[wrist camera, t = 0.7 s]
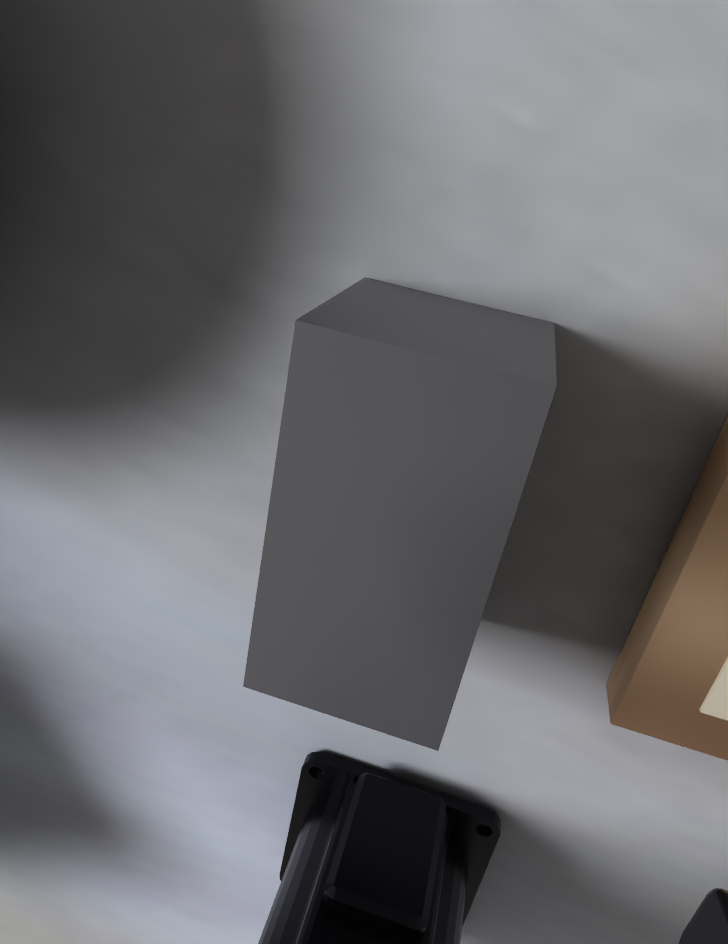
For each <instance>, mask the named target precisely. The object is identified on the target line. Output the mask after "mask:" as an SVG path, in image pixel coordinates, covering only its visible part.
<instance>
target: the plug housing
mask: <svg viewBox="0 0 728 944" xmlns="http://www.w3.org/2000/svg"><path fill="white" fill-rule="evenodd" d="M556 387H557V373H556V348H555V323H552V322H547V321H543V320H539V319H535V318H531V317H527V316H522V315H518V314H514V313H510V312H506V311H501V310H497V309H493V308H489V307H485V306H480V305H476V304H472V303H468V302H464V301H460V300H455V299H451V298H447V297H443V296H439V295H434V294H430V293H426V292H422V291H418V290H414V289H409V288H405V287H401V286H397V285H393V284H388V283H384V282H380V281H376V280H372V279H367V278H363V279H362V280H360V281H359V282H357V283H355V284H354V285H352V286H350V287H349V288H347V289H346V290H344V291H342V292H341V293H339V294H338V295H336V296H334V297H333V298H331V299H330V300H328V301H326V302H325V303H323V304H321V305H320V306H318V307H317V308H315V309H313V310H312V311H310V312H309V313H307V314H305V315H304V316H302V317H300V318H299V319H297V320H296V323H295V330H294V337H293V344H292V351H291V358H290V365H289V372H288V379H287V386H286V393H285V400H284V407H283V414H282V421H281V428H280V435H279V442H278V449H277V455H276V462H275V469H274V476H273V483H272V490H271V497H270V504H269V511H268V518H267V525H266V532H265V539H264V546H263V553H262V560H261V567H260V574H259V581H258V588H257V595H256V602H255V608H254V615H253V622H252V629H251V636H250V643H249V650H248V657H247V664H246V671H245V678H244V685H243V687H246V688H249V689H252V690H255V691H259V692H262V693H265V694H268V695H271V696H274V697H277V698H280V699H283V700H286V701H289V702H292V703H295V704H298V705H301V706H304V707H307V708H310V709H313V710H316V711H319V712H322V713H325V714H328V715H331V716H334V717H337V718H340V719H343V720H346V721H349V722H352V723H355V724H359V725H362V726H365V727H368V728H371V729H374V730H377V731H380V732H383V733H386V734H389V735H392V736H395V737H398V738H401V739H404V740H407V741H410V742H413V743H416V744H419V745H422V746H425V747H428V748H431V749H434V750H437V751H438V750H439V747H440V743H441V740H442V737H443V734H444V731H445V728H446V725H447V722H448V719H449V716H450V713H451V710H452V707H453V704H454V700H455V697H456V694H457V691H458V688H459V685H460V682H461V679H462V676H463V673H464V670H465V667H466V664H467V661H468V657H469V654H470V651H471V648H472V645H473V642H474V639H475V636H476V633H477V630H478V627H479V624H480V621H481V618H482V615H483V611H484V608H485V605H486V602H487V599H488V596H489V593H490V590H491V587H492V584H493V581H494V578H495V575H496V572H497V568H498V565H499V562H500V559H501V556H502V553H503V550H504V547H505V544H506V541H507V538H508V535H509V532H510V529H511V525H512V522H513V519H514V516H515V513H516V510H517V507H518V504H519V501H520V498H521V495H522V492H523V489H524V486H525V483H526V479H527V476H528V473H529V470H530V467H531V464H532V461H533V458H534V455H535V452H536V449H537V446H538V443H539V440H540V436H541V433H542V430H543V427H544V424H545V421H546V418H547V415H548V412H549V409H550V406H551V403H552V400H553V397H554V394H555V390H556Z"/></svg>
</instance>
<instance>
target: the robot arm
mask: <svg viewBox="0 0 728 944" xmlns="http://www.w3.org/2000/svg"><path fill="white" fill-rule="evenodd" d="M316 767H317V768H316ZM318 768H319V769H318ZM482 824H483V825H482ZM485 825H487V826H485ZM500 826H501V820H500V817H499V816H498V815H497V814H496V813H495V812H494V811H492V810H490V809H487V808H484V807H481V806H478V805H475V804H472V803H469V802H466V801H463V800H460V799H457V798H455V797H452V796H449V795H446V794H443V793H440V792H437V791H434V790H431V789H428V788H425V787H422V786H419V785H416V784H413V783H410V782H407V781H404V780H401V779H398V778H395V777H392V776H389V775H387V774H384V773H381V772H378V771H375V770H372V769H369V768H366V767H363V766H360V765H357V764H354V763H351V762H348V761H345V760H342V759H339V758H336V757H333V756H330V755H327V754H324V753H321V752H312V753H310V754H308V755H307V757H306V759H305V762H304V764H303V766H302V770H301V774H300V779H299V784H298V789H297V794H296V799H295V803H294V808H293V813H292V818H291V823H290V827H289V832H288V837H287V842H286V847H285V852H284V856H283V861H282V866H281V871H280V880H281V884H280V887H279V889H278V892H277V895H276V897H275V900H274V903H273V905H272V908H271V911H270V913H269V916H268V919H267V922H266V924H265V927H264V930H263V932H262V935H261V938H260V940H259V943H258V944H460V940H461V931H462V926H463V924H464V921H465V919H466V916H467V914H468V912H469V909H470V907H471V904H472V902H473V899H474V897H475V895H476V892H477V890H478V887H479V885H480V882H481V880H482V878H483V875H484V873H485V870H486V868H487V865H488V863H489V861H490V858H491V856H492V853H493V851H494V848H495V846H496V844H497V841H498V839H499V836H500ZM679 944H728V891H726V890H724V889H719V888H716V889H713V890H711V891H710V892H709V893H708V894H707V895H706V897H705V898H704V900H703V902H702V903H701V905H700V906H699V908H698V909H697V911H696V913H695V914H694V916H693V917H692V919H691V921H690V922H689V924H688V925H687V927H686V928H685V930H684V932H683V934H682V936H681V939H680V942H679Z"/></svg>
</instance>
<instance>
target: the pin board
mask: <svg viewBox="0 0 728 944" xmlns="http://www.w3.org/2000/svg"><path fill="white" fill-rule="evenodd" d="M606 686H607V695H608V704H609V713H610V722H611V724H613V725H616V726H620V727H623V728H626V729H629V730H632V731H636V732H639V733H642V734H645V735H648V736H652V737H655V738H658V739H661V740H664V741H667V742H671V743H674V744H677V745H680V746H683V747H687V748H690V749H693V750H696V751H699V752H703V753H706V754H709V755H712V756H715V757H718V758H722V759H725V760H728V415H727V417H726V420H725V422H724V424H723V426H722V429H721V431H720V433H719V435H718V437H717V440H716V442H715V444H714V446H713V449H712V451H711V453H710V455H709V457H708V460H707V462H706V464H705V466H704V469H703V471H702V473H701V475H700V477H699V480H698V482H697V484H696V486H695V489H694V491H693V493H692V495H691V498H690V500H689V502H688V504H687V506H686V509H685V511H684V513H683V515H682V518H681V520H680V522H679V524H678V526H677V529H676V531H675V533H674V535H673V538H672V540H671V542H670V544H669V546H668V549H667V551H666V553H665V555H664V558H663V560H662V562H661V564H660V566H659V569H658V571H657V573H656V575H655V578H654V580H653V582H652V584H651V587H650V589H649V591H648V593H647V595H646V598H645V600H644V602H643V604H642V607H641V609H640V611H639V613H638V615H637V618H636V620H635V622H634V624H633V627H632V629H631V631H630V633H629V635H628V638H627V640H626V642H625V644H624V647H623V649H622V651H621V653H620V656H619V658H618V660H617V662H616V664H615V667H614V669H613V671H612V673H611V676H610V678H609V680H608V682H607V684H606Z"/></svg>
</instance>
